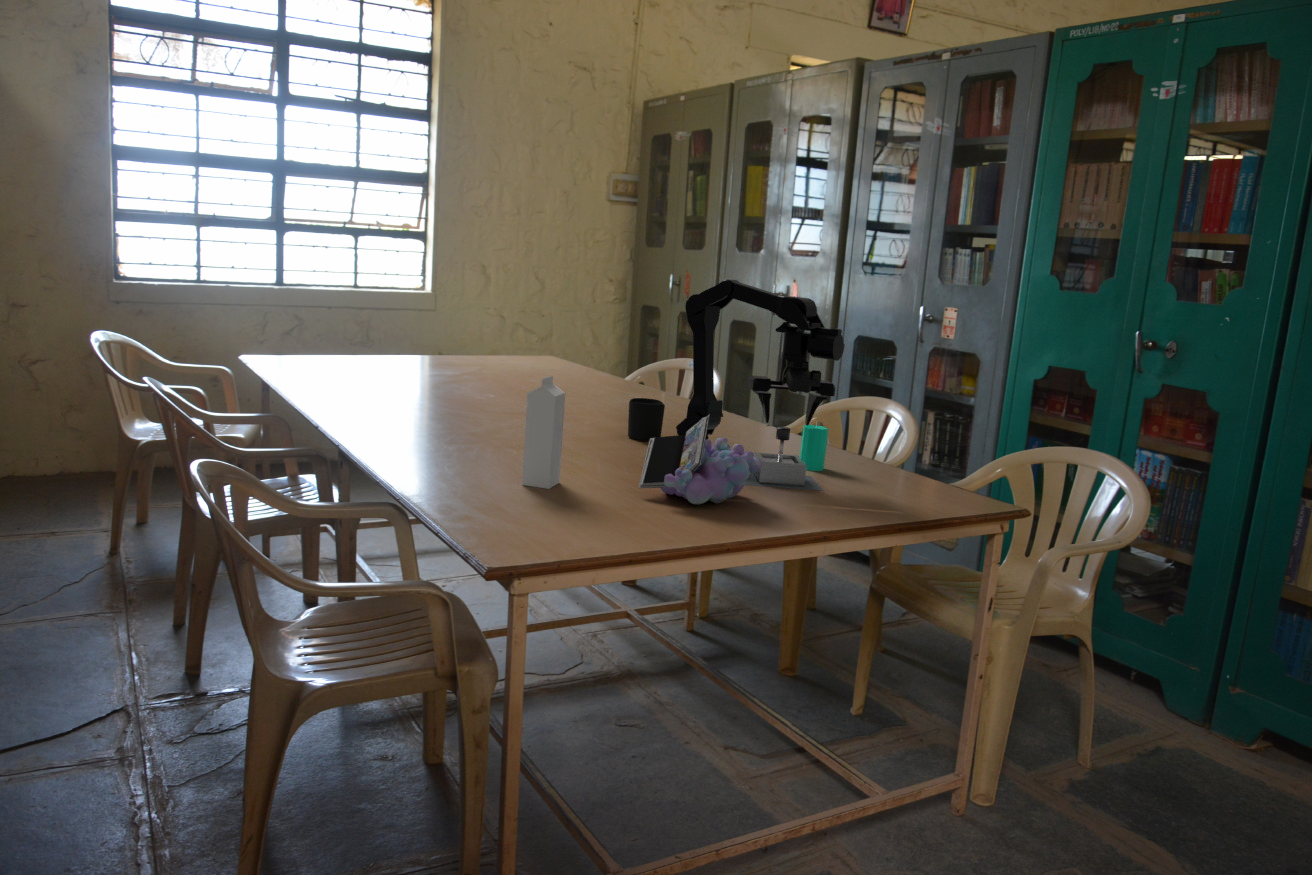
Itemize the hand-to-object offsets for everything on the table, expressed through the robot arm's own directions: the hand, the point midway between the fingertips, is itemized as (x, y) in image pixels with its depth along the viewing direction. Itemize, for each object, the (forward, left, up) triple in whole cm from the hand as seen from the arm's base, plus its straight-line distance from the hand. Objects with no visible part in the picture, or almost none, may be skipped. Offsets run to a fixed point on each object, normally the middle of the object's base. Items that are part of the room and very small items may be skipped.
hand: (787, 423), depth 212 cm
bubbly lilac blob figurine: (-21, -22, -13) cm, 33 cm away
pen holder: (-30, +38, -13) cm, 50 cm away
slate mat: (-1, -1, -13) cm, 13 cm away
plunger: (-1, -1, -9) cm, 9 cm away
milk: (-53, -19, -13) cm, 58 cm away
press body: (-2, -1, -13) cm, 13 cm away
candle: (+10, +15, -13) cm, 22 cm away
